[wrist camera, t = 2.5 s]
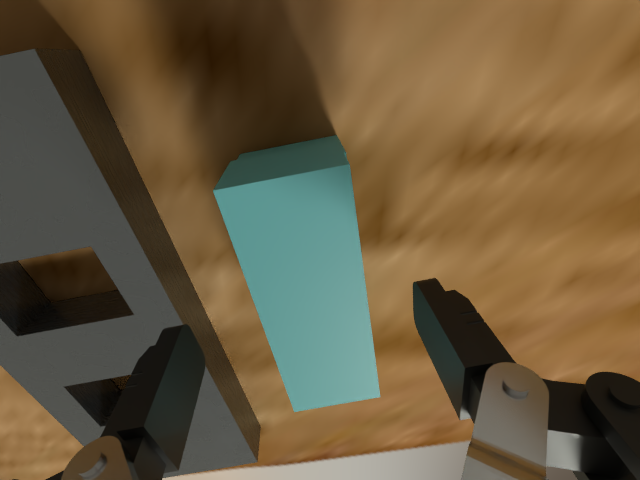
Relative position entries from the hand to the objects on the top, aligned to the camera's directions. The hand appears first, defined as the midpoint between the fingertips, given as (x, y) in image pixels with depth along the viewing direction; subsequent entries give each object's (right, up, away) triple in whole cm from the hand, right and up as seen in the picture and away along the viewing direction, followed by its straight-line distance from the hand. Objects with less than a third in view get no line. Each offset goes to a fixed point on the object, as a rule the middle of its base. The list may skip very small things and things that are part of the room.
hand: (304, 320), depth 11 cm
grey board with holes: (-11, -2, +7) cm, 14 cm away
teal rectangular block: (0, +3, +6) cm, 6 cm away
